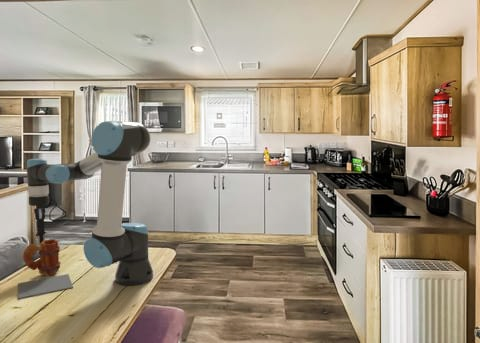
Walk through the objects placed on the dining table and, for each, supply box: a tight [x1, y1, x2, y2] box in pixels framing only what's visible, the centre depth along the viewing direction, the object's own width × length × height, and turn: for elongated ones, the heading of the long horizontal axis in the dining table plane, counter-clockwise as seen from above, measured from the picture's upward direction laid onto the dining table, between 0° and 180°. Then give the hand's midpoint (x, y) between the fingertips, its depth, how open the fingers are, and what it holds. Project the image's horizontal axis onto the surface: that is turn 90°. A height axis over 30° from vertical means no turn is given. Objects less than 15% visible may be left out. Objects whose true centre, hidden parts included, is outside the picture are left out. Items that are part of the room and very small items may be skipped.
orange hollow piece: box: [22, 238, 61, 276], centre depth 147 cm, size 15×8×15 cm, turn 144°
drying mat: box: [17, 273, 74, 300], centre depth 138 cm, size 15×18×1 cm
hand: (41, 249), depth 151 cm, fingers closed
